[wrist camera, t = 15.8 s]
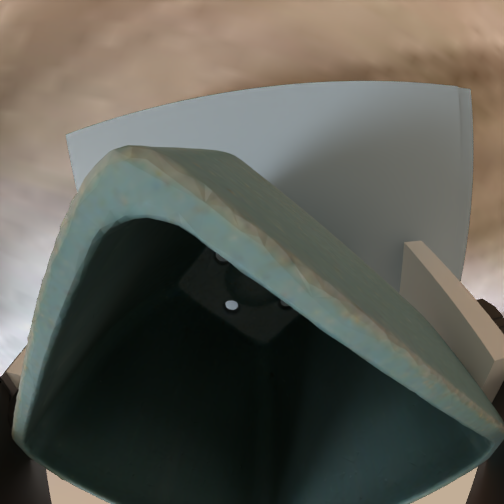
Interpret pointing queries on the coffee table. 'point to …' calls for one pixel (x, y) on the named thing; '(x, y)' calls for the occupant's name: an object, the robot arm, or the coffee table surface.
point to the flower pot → (233, 351)
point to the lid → (331, 157)
